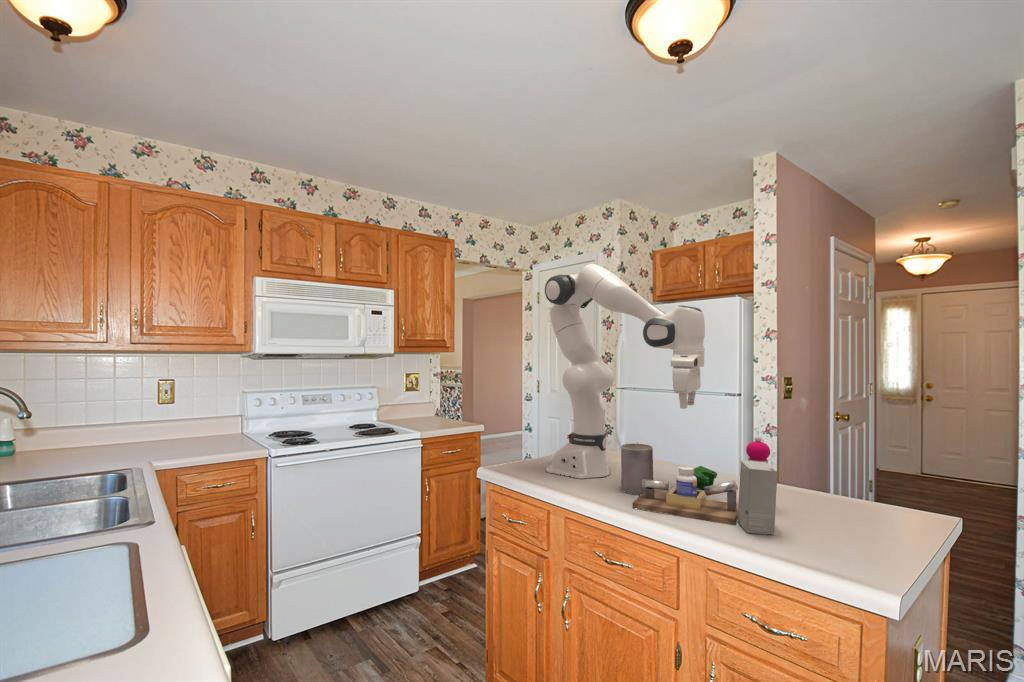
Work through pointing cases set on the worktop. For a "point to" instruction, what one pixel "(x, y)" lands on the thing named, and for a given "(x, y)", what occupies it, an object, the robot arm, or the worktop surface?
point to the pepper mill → (758, 450)
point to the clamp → (704, 477)
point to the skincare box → (757, 497)
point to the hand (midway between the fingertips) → (687, 406)
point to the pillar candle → (636, 467)
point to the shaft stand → (690, 502)
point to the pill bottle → (686, 482)
